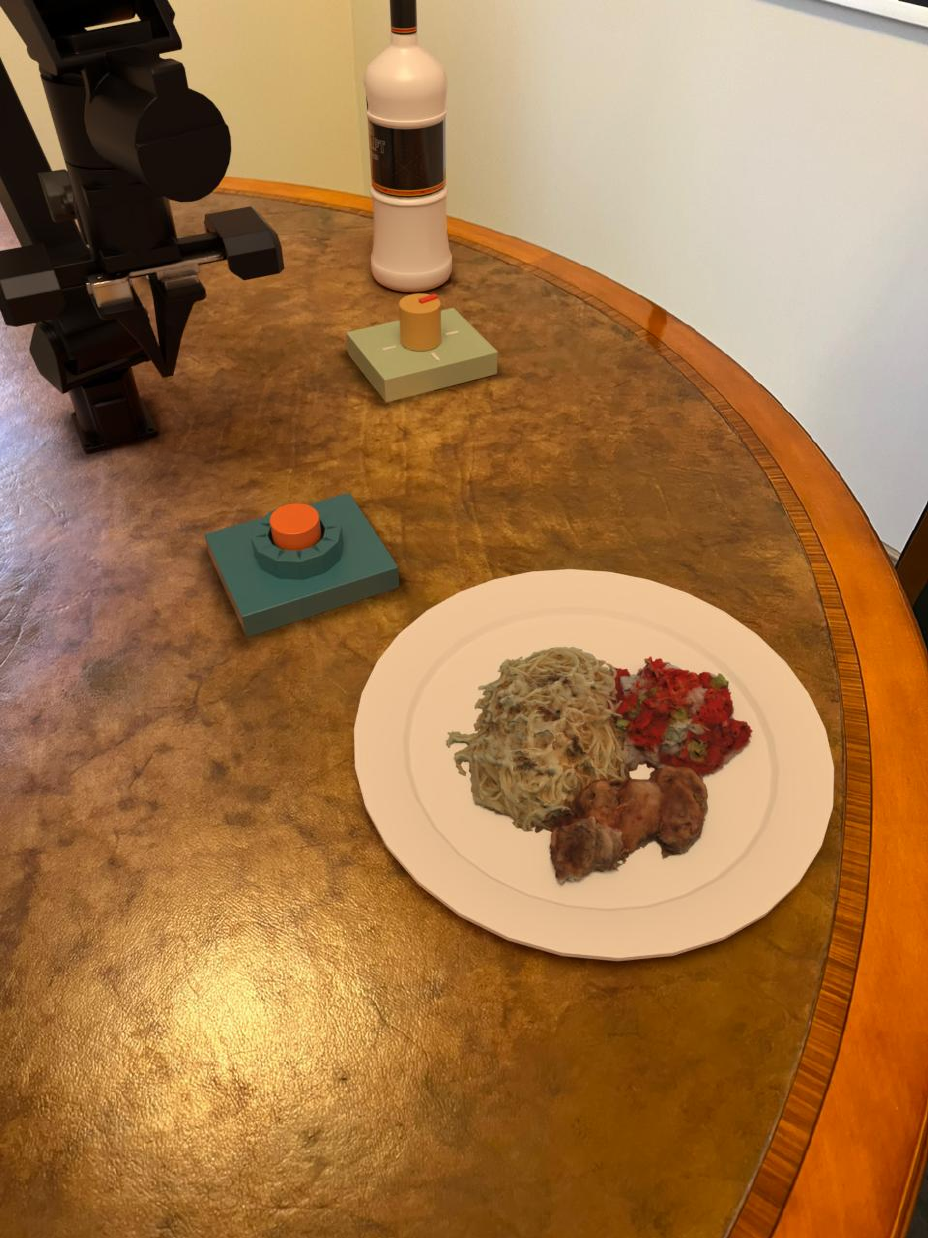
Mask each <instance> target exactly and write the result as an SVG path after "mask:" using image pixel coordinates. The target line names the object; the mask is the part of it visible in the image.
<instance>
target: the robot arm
mask: <svg viewBox="0 0 928 1238" xmlns="http://www.w3.org/2000/svg"><path fill="white" fill-rule="evenodd" d="M0 8H1V11H2V12H3V13H4V15H5V16H6V17H7V19H8V21H9V22H10V23H11V25H12V27H13V28H14V29H15V31H16V33H17V34H18V36H19V37H20V38H21V40H22V41H23V43H24V44H25V46H26V53H27V55H28V57H29V58H30V59H31V60H33V61H35V62H36V63H37V64H38V72H39V73H40V75H39V77H40V81H41V83H42V88H43V90H44V94H45V98H46V102H47V105H48V109H49V111H50V115H51V118H52V122H53V126H54V129H55V133H56V136H57V139H58V143H59V147H60V150H61V154H62V157H63V160H64V164H65V168H66V169H65V168H63V169H57V170H53V169H52V167H51V165H50V163H49V161H48V158H47V156H46V153H45V152H44V150H43V148H42V146H41V145H42V144H41V143H40V141H39V139H38V136H37V134H36V132H35V130H34V128H33V125H32V123H31V121H30V118H29V116H28V114H27V112H26V110H25V108H24V105H23V103H22V101H21V99H20V97H19V95H18V93H17V90H16V89H15V86H14V84H13V82H12V79H11V78H10V75H9V73H8V71H7V68H6V67H5V64H4V62H3V60H2V58H1V56H0V206H1V207H2V210H3V211H4V213H5V215H6V217H7V219H8V221H9V224H10V226H11V228H12V230H13V233H14V234H15V237H16V239H17V240H18V243H19V244H20V246H19V247H18V246H17V247H13V248H8V249H3V250H2V249H1V250H0V313H1V316H2V319H3V322H4V325H5V326H10V327H14V328H17V327H18V328H19V327H21V326H22V327H23V326H27V325H33V324H35V325H34V326H33V330H32V334H31V339H30V343H29V348H28V351H29V354H30V355H31V358H32V360H33V362H34V365H35V366H36V369H37V371H38V373H39V374H40V376H42V377H43V378H44V379H45V380H46V381H47V382H48V383H50V384H51V385H52V386H53V387H54V388H55V389H56V390H57V392H59V393H60V394H62V395H65V394H67V393H68V394H69V398H70V401H71V404H72V406H73V409H74V412H72V413H71V419H72V422H73V424H74V427H75V430H76V433H77V435H78V438H79V441H80V444H81V447H82V449H83V452H84V453H93V452H97V451H102V450H105V449H109V448H113V447H117V446H121V445H125V444H129V443H133V442H138V441H141V440H145V439H150V438H153V437H155V436H157V435H158V430H157V427H156V426H155V423H154V421H153V419H152V417H151V414H150V412H149V410H148V408H147V406H146V404H145V401H144V399H143V398H142V397H141V396H140V393H139V389H138V386H137V381H136V379H135V378H136V377H135V374H134V370H133V367H135V366H138V365H140V364H143V363H148V362H151V363H152V364H153V366H154V367H155V369H156V371H157V372H158V373H159V375H160V376H161V378H162V379H167V378H171V377H174V375H175V372H176V366H177V361H178V356H179V352H180V348H181V344H182V338H183V334H184V331H185V329H186V326H187V324H188V321H189V318H190V316H191V313H192V310H193V308H194V305H195V303H197V302H201V301H204V300H205V299H206V298H207V296H208V295H207V291H206V288H205V286H204V285H203V283H202V281H201V280H200V279H199V275H198V274H200V272H201V271H200V267H199V266H202V265H209V264H214V263H220V262H224V261H226V262H227V267H228V270H229V271H230V272H231V273H232V274H233V275H235V276H236V277H238V278H239V279H241V280H242V281H248V280H249V281H250V280H254V279H259V278H263V277H268V276H273V275H278V274H280V273H282V272H283V271H284V270H285V263H284V261H285V260H284V255H283V247H282V244H281V240H280V238H279V234H278V233H277V232H276V230H275V229H274V228H273V227H272V226H271V224H270V223H269V222H268V221H267V219H265V217H264V216H263V215H262V214H261V212H259V211H258V210H257V209H256V208H253V206H251V205H249V206H244V207H239V208H233V209H228V210H227V209H226V210H221V211H217V212H216V211H215V212H210V213H206V214H204V218H203V219H204V220H203V225H204V231H205V232H204V233H203V232H202V233H198V234H193V235H187V236H178V235H177V230H176V224H175V221H174V216H173V211H172V206H171V202H170V201H173V202H177V203H195V202H198V201H200V200H202V199H204V198H205V197H207V196H210V195H211V194H212V193H213V192H214V191H215V190H216V189H217V188H218V187H219V186H220V184H221V182H222V181H223V179H224V178H225V176H226V174H227V171H228V170H229V166H230V162H231V155H232V136H231V132H230V126H229V125H228V124H227V123H226V121H225V119H224V117H223V115H222V111H221V110H220V109H219V108H218V107H217V106H216V104H215V102H213V101H212V100H211V99H209V98H208V96H206V95H205V94H204V93H201V92H200V91H197V90H194V89H192V88H190V87H189V83H188V78H187V72H186V66H184V63H183V62H181V61H179V60H177V59H174V58H163V57H162V56H161V55H163V54H167V53H171V52H177V51H182V49H183V43H182V42H183V41H182V39H181V36H180V35H179V32H178V30H177V28H176V26H175V23H174V21H175V17H176V11H175V10H174V9H173V7H172V5H171V3H170V1H169V0H0ZM136 16H137V18H138V19H139V20H136V21H130V20H133V19H135V18H136ZM125 21H130V22H125ZM119 22H125V23H120V24H119ZM114 23H118V24H115V25H109V26H105V25H108V24H114ZM99 26H104V27H99ZM92 27H99V28H94V29H87V28H92ZM147 275H148V279H147V280H148V283H149V286H150V291H151V295H152V302H153V309H154V317H155V325H156V332H157V333H156V334H157V337H156V335H155V332H154V329H153V326H152V325H151V320H150V317H149V311H148V309H147V308H146V307H144V305H143V303H142V301H141V299H140V296H139V295H138V293H137V291H136V290H135V287H134V284H133V280H132V279H137V278H141V277H146V276H147Z"/></svg>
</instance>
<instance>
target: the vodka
mask: <svg viewBox="0 0 928 1238" xmlns="http://www.w3.org/2000/svg"><path fill="white" fill-rule="evenodd" d="M417 5H418V4H417V0H389V19H390V35H389V37H390V43H389V45H388V46H387V47H386V48H384V49H383V50H382V51H381V52H380V53H379V54H378V55H377V56H375V58H373V59H372V60H371V61H370V62H369V63H368V65H367V67H365V68H366V69H365V72H364V76H363V80H362V82H363V85H364V90H365V99H366V100H365V101H366V117H367V133H368V134H367V135H368V149H369V165H370V180H371V184H370V188H369V193H370V195H371V201H372V202H371V203H372V213H373V214H372V215H373V240H372V241H373V242H372V253H371V254H370V267H371V268H370V271H371V274H372V276H373V278H374V279H375V281H376V282H377V283H378V284H380V285H381V286H383V287H385V288H387V289H389V290H392V291H395V292H401V293H420V292H426V291H431V290H434V289H436V288H438V287H440V286H441V285H443V284H444V283H446V282H447V281H448V280H449V278H450V276H451V274H452V272H453V254H452V251H451V249H450V243H449V237H448V217H447V216H448V215H447V204H448V203H447V199H448V193H449V187H448V184H447V152H446V151H447V150H446V149H447V143H446V142H447V140H446V139H447V138H446V136H447V134H446V132H447V131H446V129H447V128H446V123H447V122H446V121H447V120H446V117H447V115H448V106H447V95H448V77H447V74H446V70H445V68H444V67H443V65H442V63H441V62H440V60H438V59H437V58H436V57H435V56H433V55H432V54H431V53H429V52H428V51H427V50H426V49H425V48H423V47H422V46H421V45H420V44H419V42H418V41H419V40H418V39H419V38H418V11H417Z"/></svg>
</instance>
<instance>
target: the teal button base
mask: <svg viewBox="0 0 928 1238" xmlns="http://www.w3.org/2000/svg"><path fill="white" fill-rule="evenodd" d="M307 505H310V506H312V507H313V508H315V509H316V511H317V512H318V514H319V519H320V527H321V538H320V540H319V541H318V543H317V544H316V545H314V546H313V547H309V548H306V549H303V550H300V551H295V550H283V549H281V548H279V547H278V546H277V545H276V544H275V543H274V541H273V537H272V532H271V526H270V517H271V515H272V513H273V512H274V511H275V510H276V509H277V508H276V509H272V510H270V511H269V512H268V513H267V514H265V515H264V516H263V517H259V518H256V519H252V520H249V521H246V522H241V523H238V524H235V525H231V526H228V527H225V528H221V529H217V530H214V531H211V532H208V533H204V540H205V544H206V547H207V551H208V552H207V553H208V556H209V558H210V560H211V562H212V565H213V566H214V569H215V571H216V573H217V575H218V577H219V580H220V583H221V584H222V586H223V588H224V591H225V593H226V595H227V598H228V600H229V602H230V604H231V606H232V608H233V611H234V614H235V615H236V618H237V620H238V622H239V624H240V627H241V629H242V631H243V633H244V635H245V637H246V638H251V637H254V636H256V635H259V634H263V633H265V632H269V631H272V630H275V629H278V628H281V627H285V626H286V625H287V626H288V625H290V624H293V623H296V622H299V621H303V620H306V619H309V618H311V617H315V616H317V615H320V614H323V613H327V612H330V611H333V610H335V609H339V608H343V607H346V606H348V605H352V604H354V603H357V602H360V601H364V600H366V599H370V598H372V597H375V596H378V595H382V594H384V593H387V592H392V591H394V590H397V589H399V588H400V575H399V566H398V564H397V563H396V562H395V560H394V558H393V557H392V555H391V554H390V552H389V551H388V550H387V548H386V546H385V545H384V543H383V542H382V540H381V539H380V537H379V535H378V534H377V532H376V531H375V530H374V528H373V527H372V525H371V523H370V522H369V520H368V519H367V517H366V516H365V514H364V512H363V511H362V510H361V508H360V507H359V505H358V504H357V502H356V500H355V499H354V498H353V496H352V494H351V493H350V492H347V493H343V494H339V495H336V496H332V497H329V498H325V499H322V500H318V501H315V502H311V503H308V504H307Z"/></svg>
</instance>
